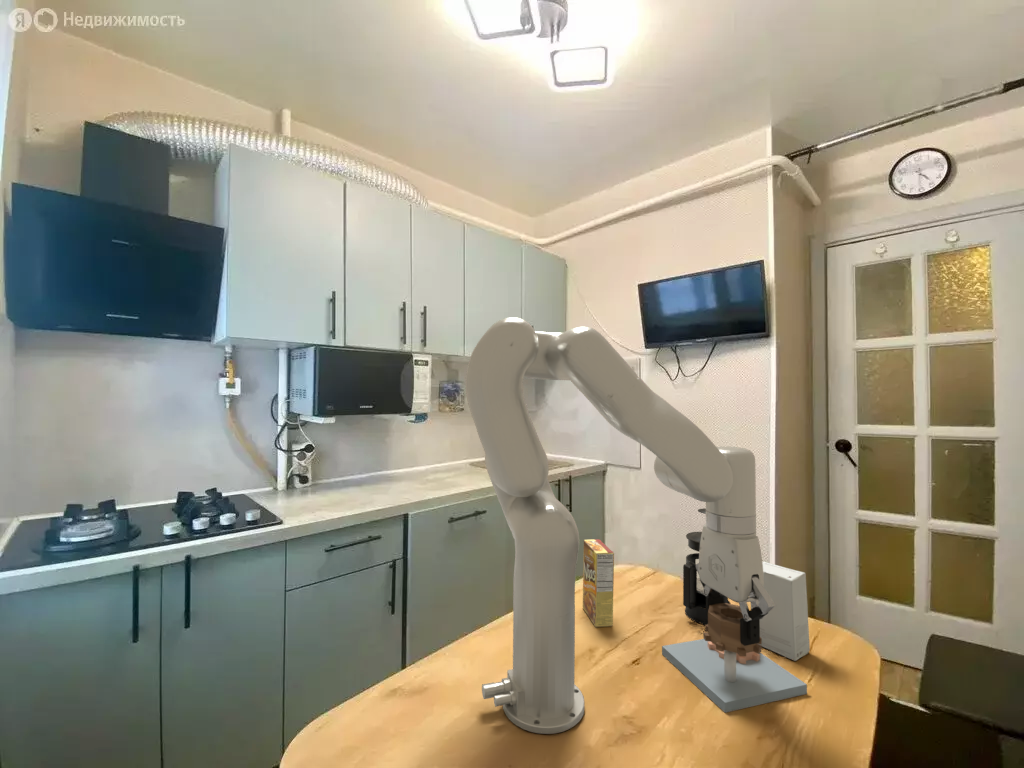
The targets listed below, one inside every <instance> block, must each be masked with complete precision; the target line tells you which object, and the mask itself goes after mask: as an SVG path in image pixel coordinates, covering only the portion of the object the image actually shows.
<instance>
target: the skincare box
mask: <svg viewBox="0 0 1024 768" xmlns="http://www.w3.org/2000/svg"><path fill="white" fill-rule="evenodd" d="M762 563H763V575H764V588H765V590H766V591H767V593H768V594H769V596H770V597H771V599H772V600H773V602H774V604H775V606H774V608H773V609H771V610H770V611H769V612H768V614H767V615H765V616H764V617H763V619H760V637H761V638H762V644H759V645H761V646H762V648H764V649H767V650H769V651H771V652H773V653H776V654H778V655H780V656H783V657H785V658H788V659H790V660H792V661H794V662H796V661H798V660H799V659H800V658H802V657H804V656H806V655H808V654H809V653H810V651H811V648H810V647H811V645H810V631H809V613H808V595H807V594H808V593H807V591H808V590H807V577H806V575H807V574H806V572H804V571H800V570H795V569H792V568H790V567H789V568H788V567H785V566H781V565H777V564H774V563H770V562H767V561H762ZM758 602H759V600H758ZM751 609H753V608H752V605H751V604H750V610H751Z"/></svg>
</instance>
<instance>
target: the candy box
mask: <svg viewBox="0 0 1024 768" xmlns="http://www.w3.org/2000/svg"><path fill="white" fill-rule="evenodd" d="M582 558H583V562H582V563H583V567H582V570H583V571H582V573H583V574H582V609H583V610H584V612H585V613H586V615H587V616H588V618H589V619H590V621H591V622H592V624H593V626H594V627H595V628H601V627H603V628H605V627H613V625H614V623H613V622H614V618H613V617H614V585H615V584H614V582H615V580H614V579H615V576H614V575H615V574H614V573H615V572H614V569H615V568H614V567H615V553H614V551H612V550H611V548H609V547H608V546H607V545H606V544H605V543H604V542H602V540H601V539H597V538H595V539H592V538H591V539H583V557H582Z"/></svg>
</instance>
